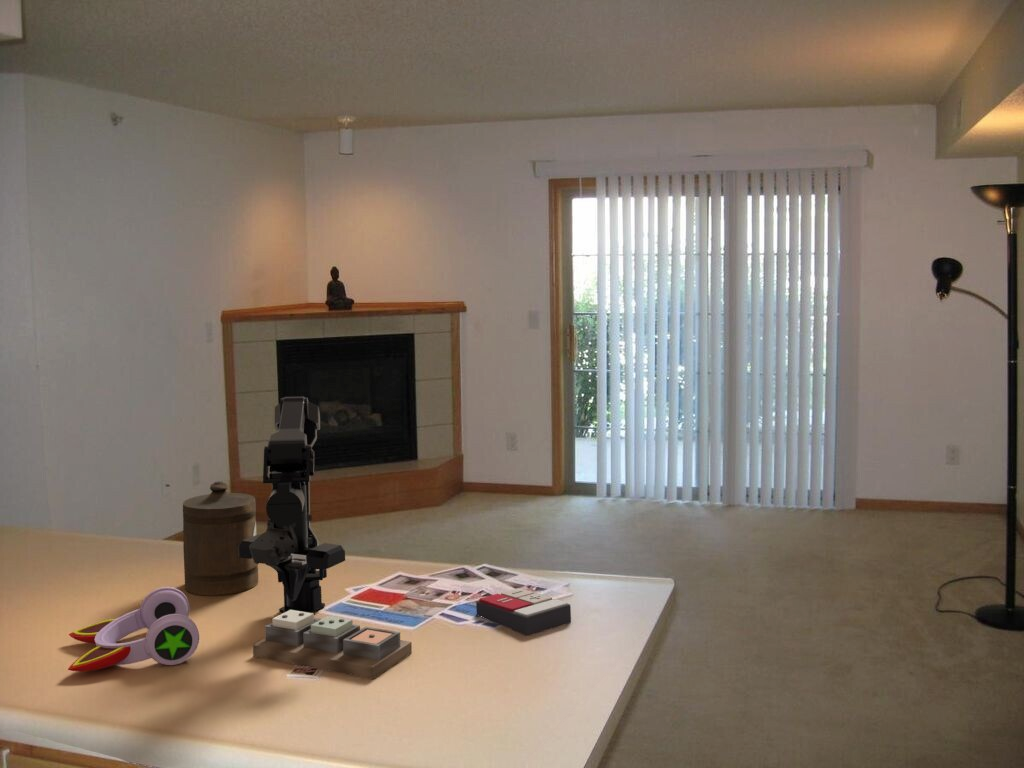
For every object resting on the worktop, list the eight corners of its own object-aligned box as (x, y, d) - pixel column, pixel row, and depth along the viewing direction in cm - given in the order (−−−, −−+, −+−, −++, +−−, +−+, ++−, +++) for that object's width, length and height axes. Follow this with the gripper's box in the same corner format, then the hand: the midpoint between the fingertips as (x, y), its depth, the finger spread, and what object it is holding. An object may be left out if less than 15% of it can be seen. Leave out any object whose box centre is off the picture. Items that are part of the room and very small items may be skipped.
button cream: (272, 629, 171) (272, 617, 171) (290, 620, 176) (290, 608, 176) (296, 634, 169) (296, 621, 169) (314, 624, 174) (313, 612, 173)
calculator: (519, 585, 196) (571, 600, 184) (520, 607, 196) (572, 623, 185) (474, 597, 189) (526, 613, 177) (475, 619, 189) (527, 637, 178)
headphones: (202, 617, 166) (71, 620, 158) (197, 674, 167) (66, 680, 159) (190, 584, 184) (72, 585, 176) (185, 636, 185) (68, 640, 177)
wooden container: (273, 581, 211) (269, 479, 209) (218, 600, 199) (214, 492, 196) (225, 570, 219) (221, 472, 217) (169, 589, 206) (164, 484, 204)
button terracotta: (351, 651, 165) (350, 638, 164) (367, 640, 169) (367, 628, 169) (376, 655, 163) (376, 642, 162) (392, 645, 167) (392, 632, 167)
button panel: (253, 656, 169) (252, 630, 169) (296, 633, 180) (295, 609, 180) (373, 679, 159) (372, 652, 159) (411, 653, 170) (411, 627, 169)
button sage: (311, 636, 168) (310, 623, 168) (328, 626, 172) (328, 614, 172) (335, 640, 166) (335, 628, 166) (352, 631, 170) (352, 618, 170)
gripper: (214, 516, 167) (218, 607, 169) (305, 527, 159) (309, 622, 161) (257, 502, 177) (261, 587, 179) (345, 512, 169) (348, 601, 171)
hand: (292, 599), depth 172 cm, fingers closed
